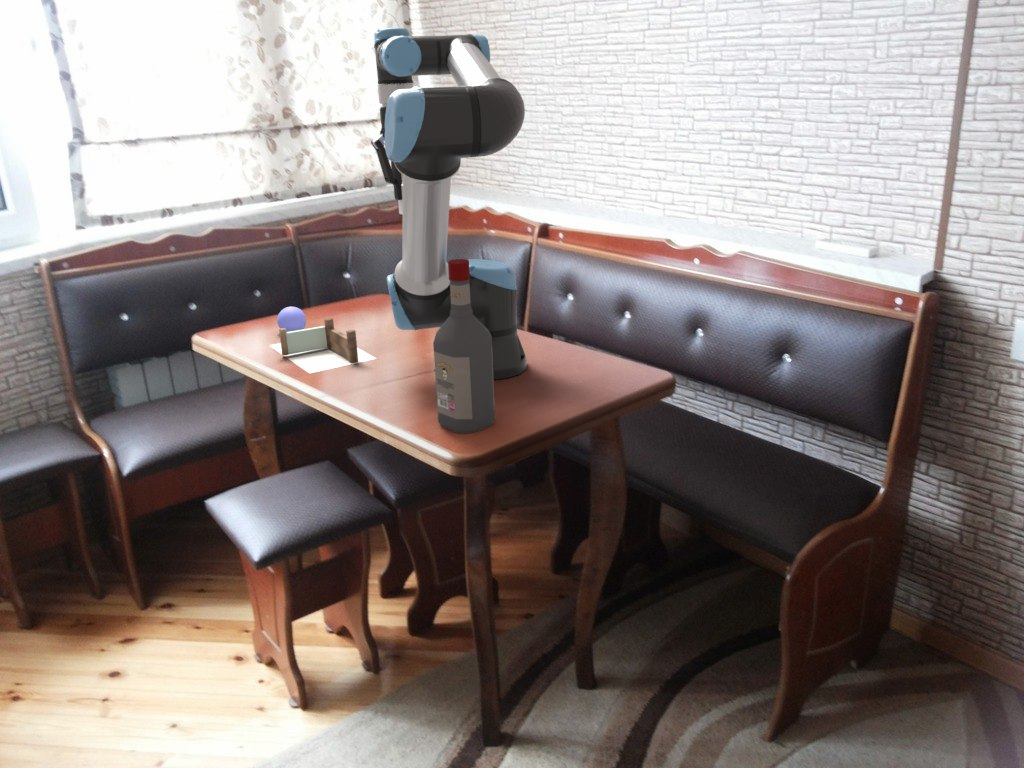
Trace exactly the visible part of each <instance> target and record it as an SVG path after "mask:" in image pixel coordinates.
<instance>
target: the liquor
mask: <svg viewBox="0 0 1024 768" xmlns="http://www.w3.org/2000/svg"><path fill="white" fill-rule="evenodd" d="M447 263H448V271H449V280H450V292H451V311H450V316H449V317H448V319H447V320H446V321H445V322H444V324H443V325H442V326H441V327H438V328H439V329H438V330H437V331H436V333H435V336H434V339H433V345H432V346H433V359H434V373H435V374H434V375H435V388H436V389H435V391H436V405H437V421H438V424H439V425H440V426H441V428H445V429H447V430H450V431H452V432H454V433H457V434H473V433H476V432H478V431H480V430H483V429H486V428H489V427H492V426H493V424H494V422H495V418H496V413H495V412H496V410H495V407H496V405H495V388H494V387H495V386H494V384H495V383H494V379H493V356H492V336H491V334H490V332H489V330H488V329H487V328H486V327H485V326H484V325H483V324H482V323H481V322H480V321H479V320H478V319H477V318H476V317H475V316H474V315H473V311H472V309H471V303H470V286H469V279H470V270H469V260H468V259H465V258H463V259H462V258H461V259H460V258H459V259H458V258H457V259H451V260H448V261H447Z"/></svg>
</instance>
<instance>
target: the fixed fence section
mask: <svg viewBox="0 0 1024 768" xmlns="http://www.w3.org/2000/svg"><path fill="white" fill-rule="evenodd" d="M323 322H324V327H325V331H326V340H327V349H331V350H333V351H334V352H336V353H338V354H339V355H341V356H343V357H344V358H346V359H348V360H349V362H350V363H356V362H358V352H357V348H358V344H357V343H358V342H357V333H356V332H357V331H356V330H355V329H349V330H346V334H345V333H343V332H341V331H339V330H338V329H337V328H335V324H334V323H335V322H334V318H332V317H331V318H330V317H328V318H324V320H323ZM356 364H357V363H356Z"/></svg>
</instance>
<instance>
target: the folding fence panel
mask: <svg viewBox="0 0 1024 768" xmlns="http://www.w3.org/2000/svg"><path fill="white" fill-rule="evenodd" d="M278 332H279V333H278V334H279V341H280V343H281V349H282V354H281V355H282V356H283V355H289V354H295V353H301V352H306V351H312V350H318V349H323V348H327V340H326V331H325V325H320V326H315V327H310V328H309V327H308V328H304V329H302V330H296V331H290V332H287V331H286V328H281V329H280V328H279V329H278Z"/></svg>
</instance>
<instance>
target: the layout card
mask: <svg viewBox="0 0 1024 768" xmlns="http://www.w3.org/2000/svg"><path fill="white" fill-rule="evenodd" d="M268 346H269V347H270V348H272V349H273V350H274V351H276V352H277V353H279V354H280V355H282V349H281V342H280V343H274V344H269V345H268ZM357 352H358V362H356V363H350V362H349V360H348V359H346V358H344V357H343V356H341V355H339V354H338V353H336V352H334V351H333V350H331V349H327V348H323V349H318V350H312V351H306V352H301V353H295V354H289V355H282V356H283V357H284V358H286V359H288V360H289V361H290V362H291V363H293V364H295V365H296V366H297V367H298V368H300V369H302V370H303V371H305V372H306V373H308V374H314V373H320V372H323V371H324V372H325V371H328V370H333V369H337V368H341V367H342V368H343V367H346V366H350V365H356V364H360V363H364V362H370V361H374V360H378V357H377V358H376V357H375V356H373V355H371V354H369V353H368V352H366V351H364V350H363V349H361V348H359V347H357Z"/></svg>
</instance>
